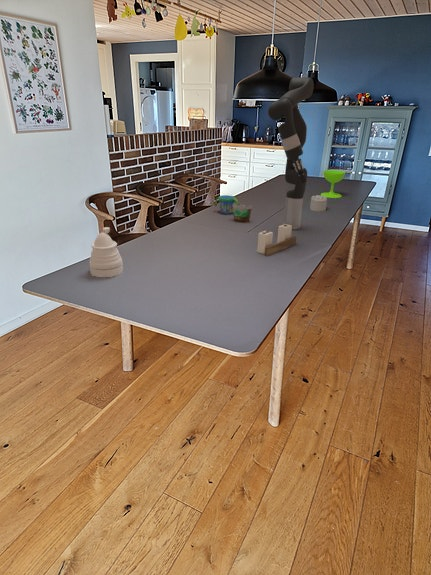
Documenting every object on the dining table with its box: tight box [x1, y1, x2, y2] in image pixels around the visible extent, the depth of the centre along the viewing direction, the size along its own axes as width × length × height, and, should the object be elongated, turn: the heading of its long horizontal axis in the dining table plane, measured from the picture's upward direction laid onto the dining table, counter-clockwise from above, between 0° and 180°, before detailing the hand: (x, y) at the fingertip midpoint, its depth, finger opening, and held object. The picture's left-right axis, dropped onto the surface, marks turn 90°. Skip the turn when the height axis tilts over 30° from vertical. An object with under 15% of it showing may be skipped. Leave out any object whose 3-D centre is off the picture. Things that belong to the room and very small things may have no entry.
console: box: [264, 235, 297, 257], centre depth 186 cm, size 15×24×5 cm, turn 138°
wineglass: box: [320, 169, 346, 199], centre depth 298 cm, size 16×16×18 cm
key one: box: [276, 223, 293, 243], centre depth 189 cm, size 4×6×9 cm
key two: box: [256, 230, 274, 255], centre depth 178 cm, size 4×6×9 cm
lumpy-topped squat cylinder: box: [309, 194, 328, 212], centre depth 260 cm, size 10×13×9 cm
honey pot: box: [88, 226, 124, 277], centre depth 155 cm, size 13×13×18 cm
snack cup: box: [214, 194, 239, 215], centre depth 246 cm, size 16×10×10 cm
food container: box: [232, 202, 253, 223], centre depth 229 cm, size 12×6×10 cm, turn 62°
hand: (303, 182), depth 181 cm, fingers closed
